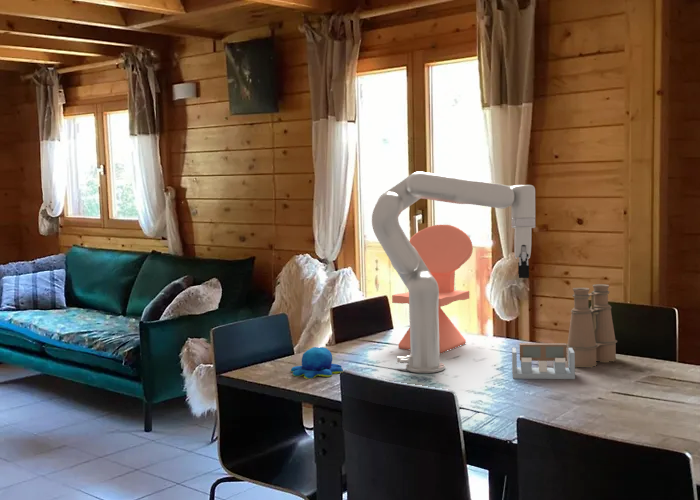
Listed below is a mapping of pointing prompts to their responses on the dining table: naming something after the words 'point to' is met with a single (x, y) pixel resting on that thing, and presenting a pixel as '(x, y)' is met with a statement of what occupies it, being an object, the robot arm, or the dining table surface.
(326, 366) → the plush toy
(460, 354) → the dining table surface
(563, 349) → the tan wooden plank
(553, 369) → the display cradle
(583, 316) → the binoculars
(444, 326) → the chair
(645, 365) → the dining table surface
